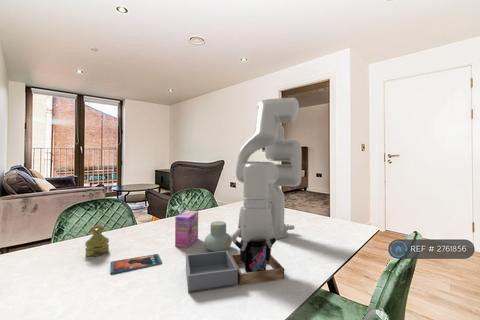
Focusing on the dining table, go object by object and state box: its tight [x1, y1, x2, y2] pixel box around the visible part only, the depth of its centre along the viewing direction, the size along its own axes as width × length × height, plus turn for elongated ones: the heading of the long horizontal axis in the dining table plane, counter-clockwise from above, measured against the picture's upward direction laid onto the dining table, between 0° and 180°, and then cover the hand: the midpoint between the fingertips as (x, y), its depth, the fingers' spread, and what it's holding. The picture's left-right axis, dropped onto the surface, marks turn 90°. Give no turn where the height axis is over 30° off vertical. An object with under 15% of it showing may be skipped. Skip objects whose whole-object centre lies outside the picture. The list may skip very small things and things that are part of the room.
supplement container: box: [244, 239, 267, 273], centre depth 73 cm, size 7×7×10 cm
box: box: [174, 210, 199, 249], centre depth 96 cm, size 10×6×12 cm, turn 168°
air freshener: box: [203, 220, 233, 252], centre depth 89 cm, size 11×8×10 cm
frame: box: [229, 253, 285, 286], centre depth 73 cm, size 13×13×3 cm
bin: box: [185, 250, 239, 294], centre depth 69 cm, size 13×13×4 cm
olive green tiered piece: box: [84, 224, 110, 258], centre depth 86 cm, size 7×7×10 cm
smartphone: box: [109, 253, 163, 275], centre depth 77 cm, size 8×1×15 cm
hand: (255, 260), depth 73 cm, fingers closed on supplement container, 6 cm apart
